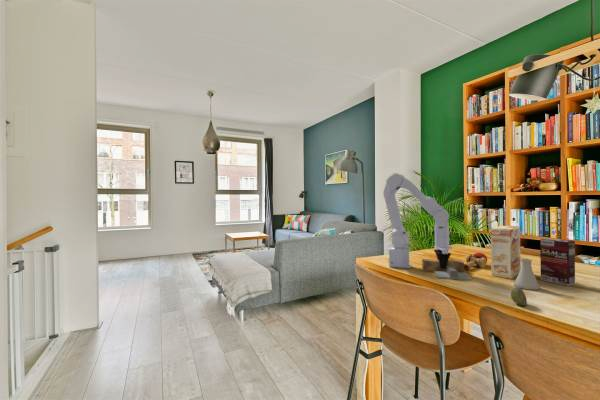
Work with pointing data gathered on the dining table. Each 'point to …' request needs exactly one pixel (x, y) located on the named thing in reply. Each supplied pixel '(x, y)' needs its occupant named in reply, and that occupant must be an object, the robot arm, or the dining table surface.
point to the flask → (526, 276)
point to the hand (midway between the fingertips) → (442, 267)
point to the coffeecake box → (505, 251)
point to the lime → (519, 296)
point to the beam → (435, 265)
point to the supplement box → (557, 261)
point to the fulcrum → (451, 274)
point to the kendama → (475, 261)
